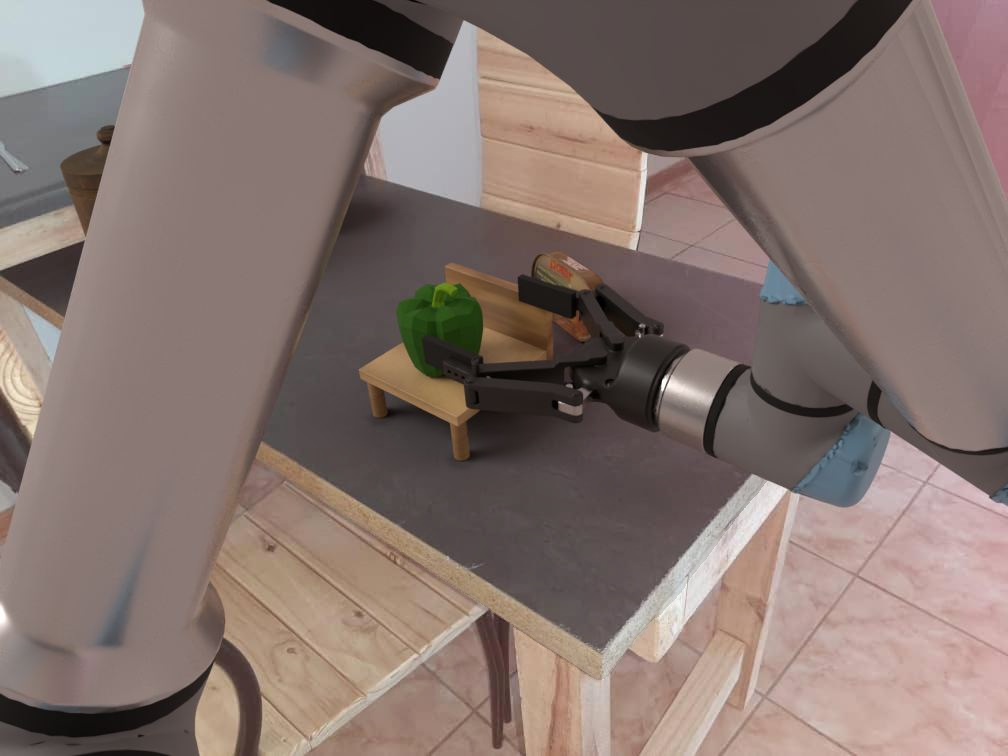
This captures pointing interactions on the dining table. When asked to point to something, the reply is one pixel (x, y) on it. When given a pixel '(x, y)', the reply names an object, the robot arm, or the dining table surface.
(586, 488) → the dining table surface
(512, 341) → the miniature wooden chair
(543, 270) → the tin
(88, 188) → the wooden container
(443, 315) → the bell pepper
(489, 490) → the dining table surface
